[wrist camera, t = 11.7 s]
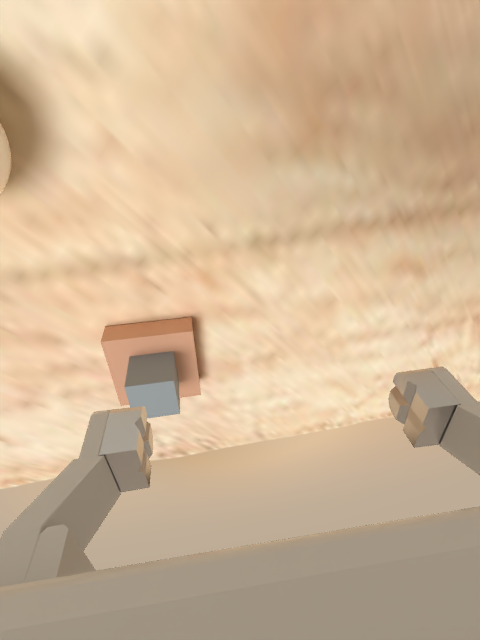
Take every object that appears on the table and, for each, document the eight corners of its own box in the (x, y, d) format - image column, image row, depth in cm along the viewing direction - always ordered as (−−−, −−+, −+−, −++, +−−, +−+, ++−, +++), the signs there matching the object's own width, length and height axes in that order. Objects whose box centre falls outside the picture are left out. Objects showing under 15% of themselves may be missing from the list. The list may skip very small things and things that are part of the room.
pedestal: (191, 317, 42) (192, 331, 39) (199, 378, 47) (200, 394, 45) (105, 326, 40) (100, 341, 38) (123, 388, 46) (120, 405, 44)
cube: (173, 351, 40) (173, 380, 36) (179, 382, 43) (179, 413, 39) (129, 356, 40) (124, 387, 36) (137, 388, 42) (134, 420, 38)
